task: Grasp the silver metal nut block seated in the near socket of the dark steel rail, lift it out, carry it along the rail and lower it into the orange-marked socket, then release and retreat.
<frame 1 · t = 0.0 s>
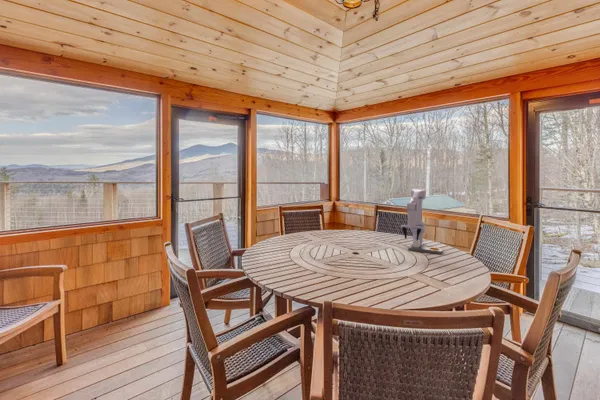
hand: (411, 238, 211), 10 cm above the table, fingers open, 7 cm apart
rail: (425, 250, 217), on the table
nut: (416, 249, 220), resting in rail
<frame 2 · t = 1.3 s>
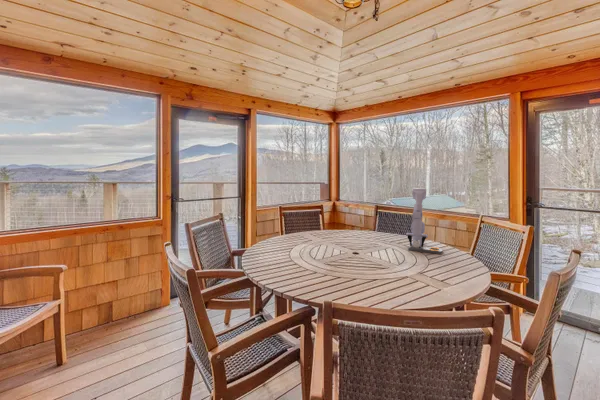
hand: (416, 246, 220), 3 cm above the table, fingers open, 7 cm apart
nothing on the table moved.
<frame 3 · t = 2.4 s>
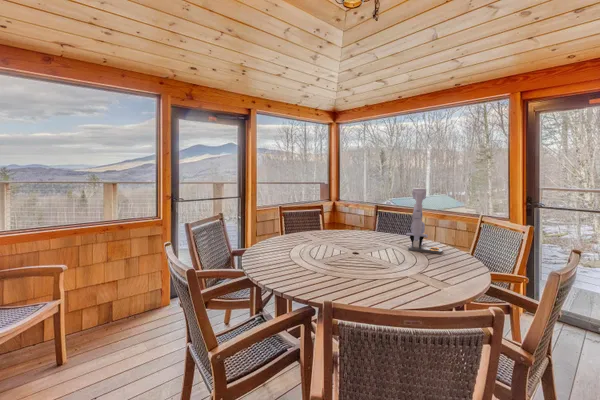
hand: (416, 246, 220), 3 cm above the table, fingers closed on nut, 4 cm apart
nut: (416, 249, 220), resting in rail, touching gripper
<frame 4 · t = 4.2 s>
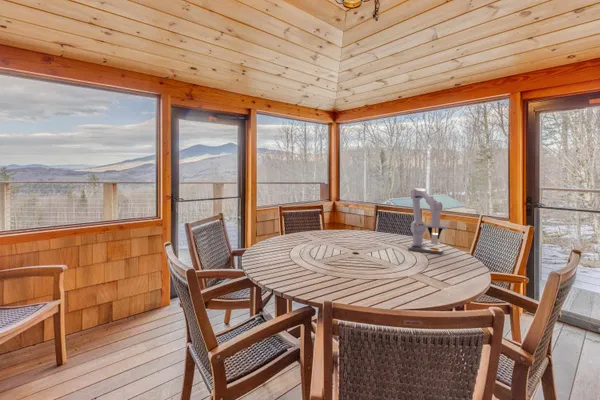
hand: (434, 238, 213), 10 cm above the table, fingers closed on nut, 4 cm apart
nut: (434, 243, 213), point 6 cm above the table, touching gripper
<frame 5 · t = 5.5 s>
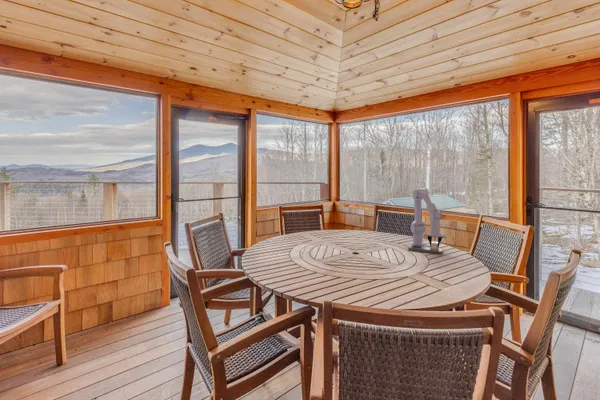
hand: (434, 247, 214), 3 cm above the table, fingers closed on nut, 4 cm apart
nut: (434, 252, 214), resting in rail, touching gripper
when the fingers open (3 cm above the table, at t = 6.2 s): nut stays where it is, resting in rail.
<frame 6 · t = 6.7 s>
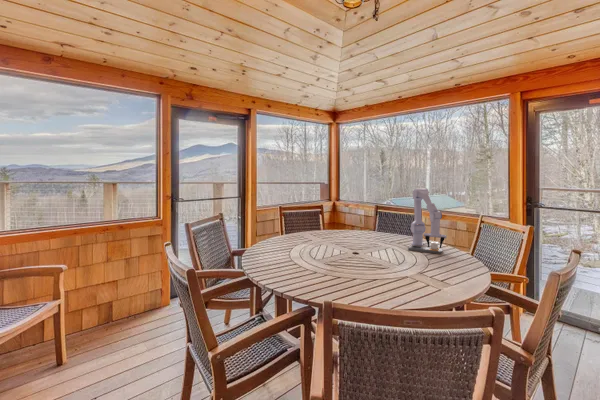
hand: (434, 247, 214), 3 cm above the table, fingers open, 7 cm apart
nut: (434, 252, 214), resting in rail
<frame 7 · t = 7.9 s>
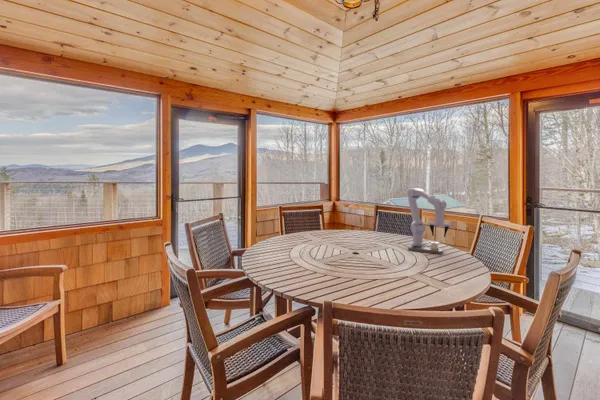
hand: (438, 236, 217), 10 cm above the table, fingers open, 7 cm apart
nothing on the table moved.
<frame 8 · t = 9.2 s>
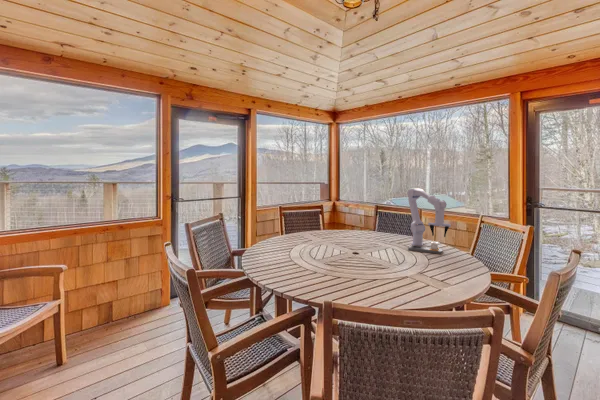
hand: (438, 236, 217), 10 cm above the table, fingers open, 7 cm apart
nothing on the table moved.
at the end: nut 0.2 cm from the target spot on the rail, point 0.0 cm above the rail's base; nut tilted 0°; the gripper is holding nothing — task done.
